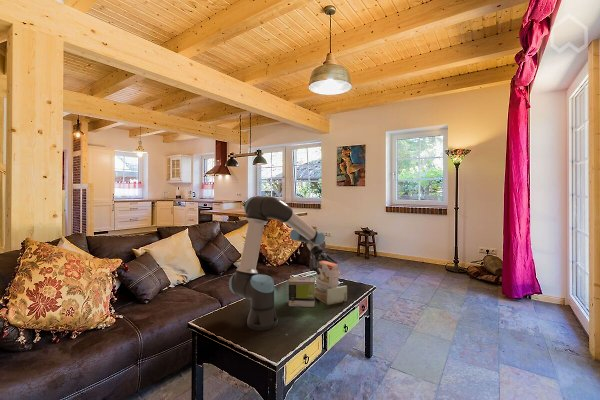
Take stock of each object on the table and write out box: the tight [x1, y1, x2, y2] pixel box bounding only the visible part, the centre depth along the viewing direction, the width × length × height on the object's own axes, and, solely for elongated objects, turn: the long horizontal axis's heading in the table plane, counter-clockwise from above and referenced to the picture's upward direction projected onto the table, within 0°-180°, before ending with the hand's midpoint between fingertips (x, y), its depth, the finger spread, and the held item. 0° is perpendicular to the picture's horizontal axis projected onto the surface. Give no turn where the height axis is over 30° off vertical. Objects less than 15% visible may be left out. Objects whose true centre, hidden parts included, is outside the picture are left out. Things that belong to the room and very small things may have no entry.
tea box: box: [288, 276, 316, 308], centre depth 173 cm, size 15×10×15 cm, turn 84°
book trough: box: [315, 285, 348, 306], centre depth 182 cm, size 14×17×9 cm
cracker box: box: [315, 260, 339, 294], centre depth 182 cm, size 14×6×21 cm, turn 40°
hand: (331, 276), depth 181 cm, fingers open, 13 cm apart
